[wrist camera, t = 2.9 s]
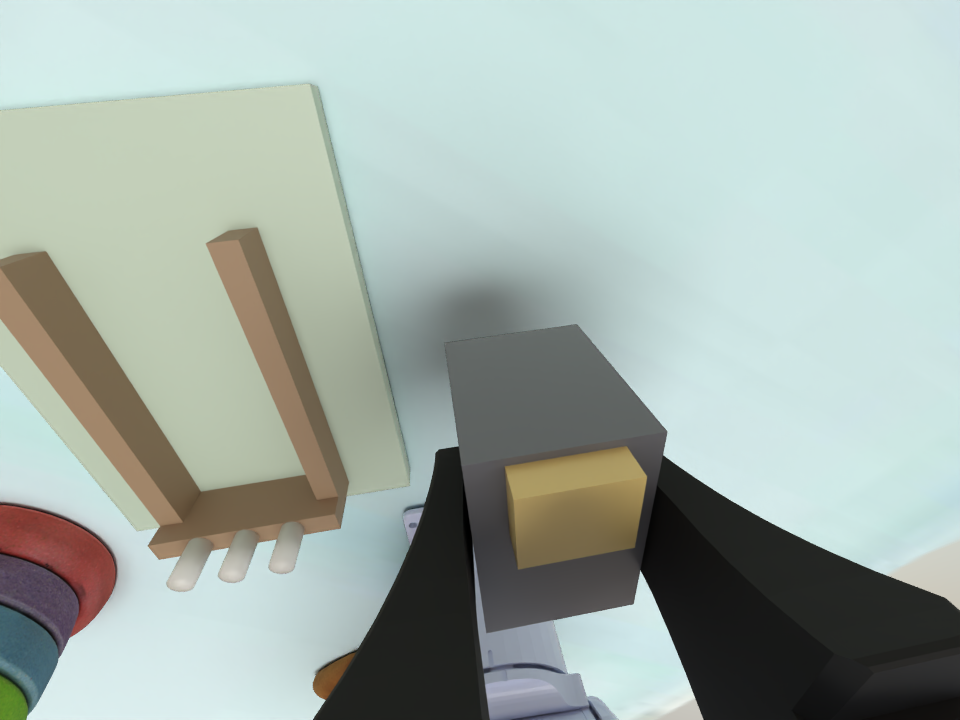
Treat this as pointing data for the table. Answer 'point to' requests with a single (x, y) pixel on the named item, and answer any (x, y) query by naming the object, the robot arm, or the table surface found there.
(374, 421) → the board
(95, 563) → the stacking bear
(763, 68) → the table surface
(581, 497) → the plug block
